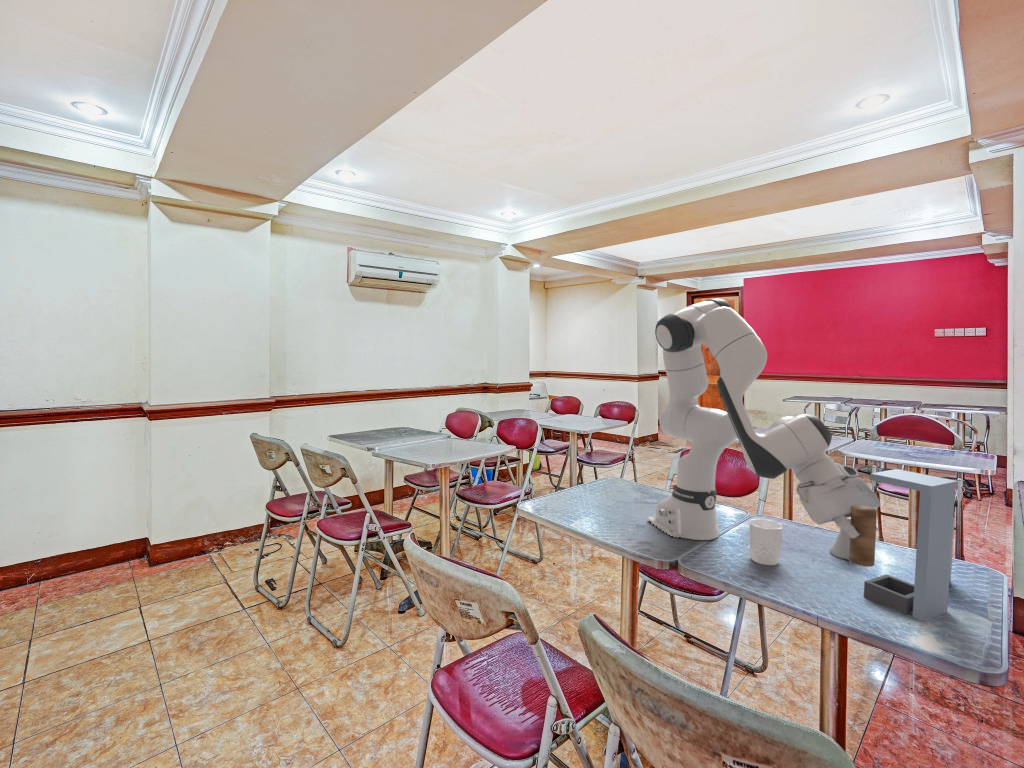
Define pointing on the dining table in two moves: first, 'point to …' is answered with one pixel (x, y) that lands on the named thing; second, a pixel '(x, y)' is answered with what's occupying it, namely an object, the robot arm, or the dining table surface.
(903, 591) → the socket
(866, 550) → the peg
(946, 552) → the awning
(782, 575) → the dining table surface
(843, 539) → the flask
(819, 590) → the dining table surface
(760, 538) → the white cup
